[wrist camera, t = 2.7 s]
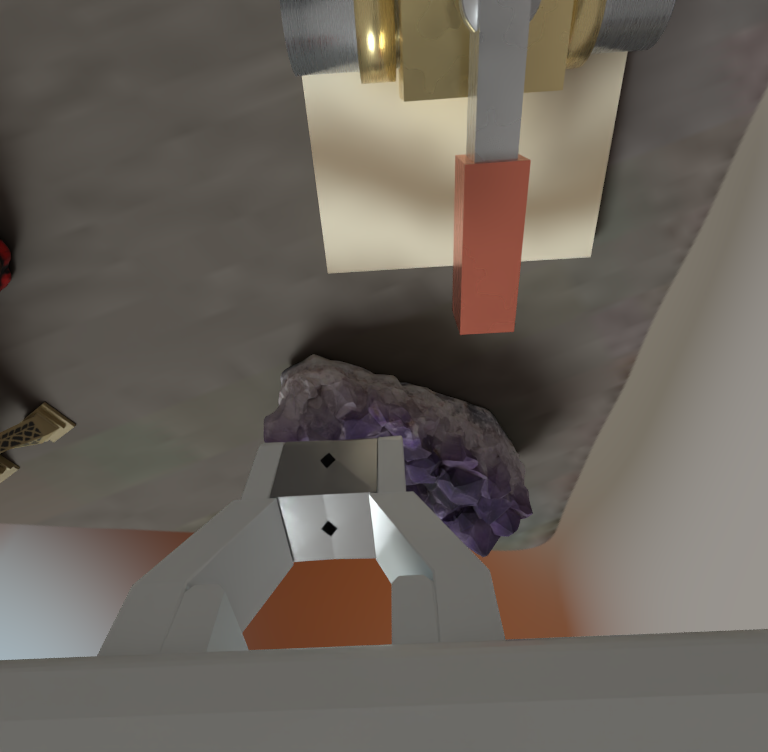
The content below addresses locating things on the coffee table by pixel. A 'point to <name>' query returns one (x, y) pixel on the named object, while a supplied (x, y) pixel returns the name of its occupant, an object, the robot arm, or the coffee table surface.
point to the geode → (412, 442)
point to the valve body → (457, 40)
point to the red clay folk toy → (4, 265)
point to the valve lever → (491, 168)
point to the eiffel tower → (32, 434)
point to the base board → (452, 167)
